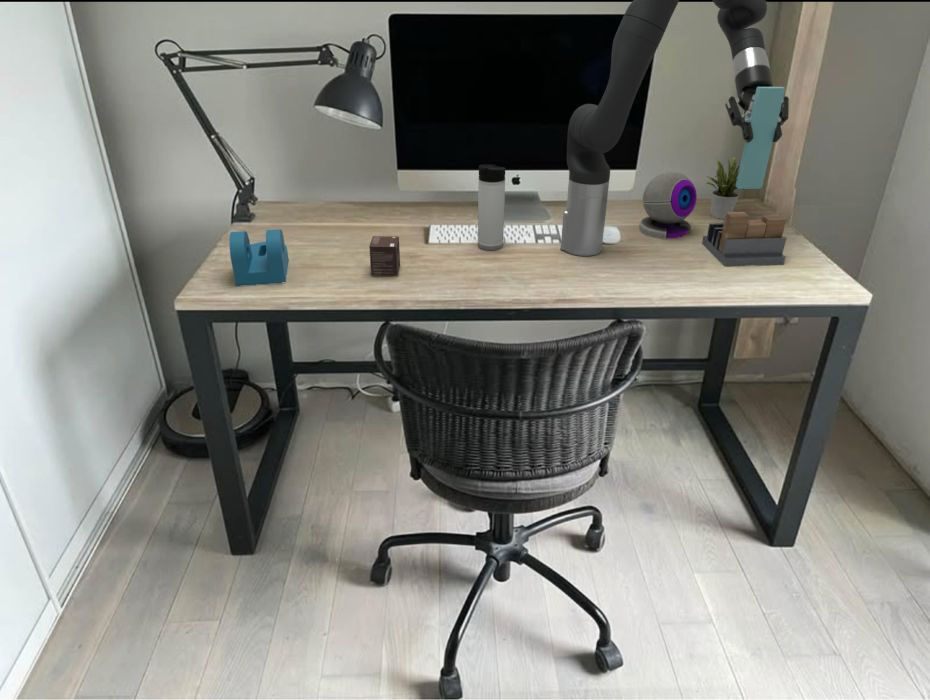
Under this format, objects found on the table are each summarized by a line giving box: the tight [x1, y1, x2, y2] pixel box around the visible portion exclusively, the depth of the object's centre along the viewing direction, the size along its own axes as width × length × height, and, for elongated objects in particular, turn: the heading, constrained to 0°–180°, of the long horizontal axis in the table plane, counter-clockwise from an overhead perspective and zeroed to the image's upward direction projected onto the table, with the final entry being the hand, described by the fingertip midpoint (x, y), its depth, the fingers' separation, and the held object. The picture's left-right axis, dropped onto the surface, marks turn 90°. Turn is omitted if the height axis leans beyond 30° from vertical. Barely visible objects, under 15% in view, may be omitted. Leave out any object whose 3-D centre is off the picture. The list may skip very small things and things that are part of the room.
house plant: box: [705, 154, 746, 220], centre depth 183 cm, size 14×14×16 cm
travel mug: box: [477, 163, 506, 251], centre depth 163 cm, size 6×7×20 cm
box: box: [368, 235, 401, 277], centre depth 153 cm, size 6×6×7 cm
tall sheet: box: [736, 86, 786, 190], centre depth 153 cm, size 2×6×22 cm, turn 94°
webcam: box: [638, 171, 698, 240], centre depth 174 cm, size 13×13×15 cm
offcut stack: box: [719, 211, 787, 253], centre depth 158 cm, size 3×13×9 cm, turn 94°
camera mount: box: [228, 228, 289, 287], centre depth 154 cm, size 18×10×10 cm, turn 10°
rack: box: [701, 222, 787, 267], centre depth 163 cm, size 14×14×6 cm
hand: (763, 140), depth 152 cm, fingers closed on tall sheet, 5 cm apart
